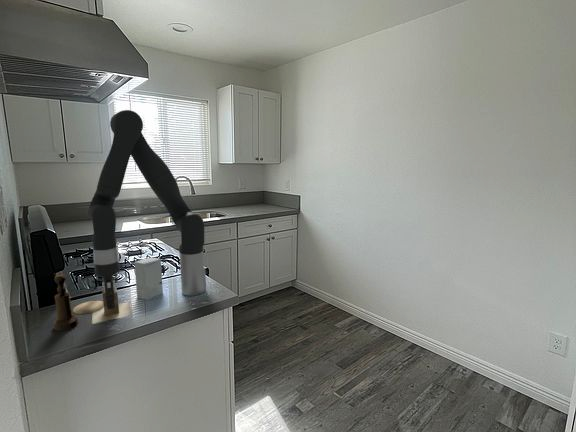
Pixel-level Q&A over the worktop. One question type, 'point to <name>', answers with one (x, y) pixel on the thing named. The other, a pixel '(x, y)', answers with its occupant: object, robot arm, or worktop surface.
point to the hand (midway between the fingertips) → (110, 303)
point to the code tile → (100, 316)
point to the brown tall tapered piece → (63, 307)
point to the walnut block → (116, 309)
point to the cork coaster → (88, 307)
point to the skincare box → (148, 278)
